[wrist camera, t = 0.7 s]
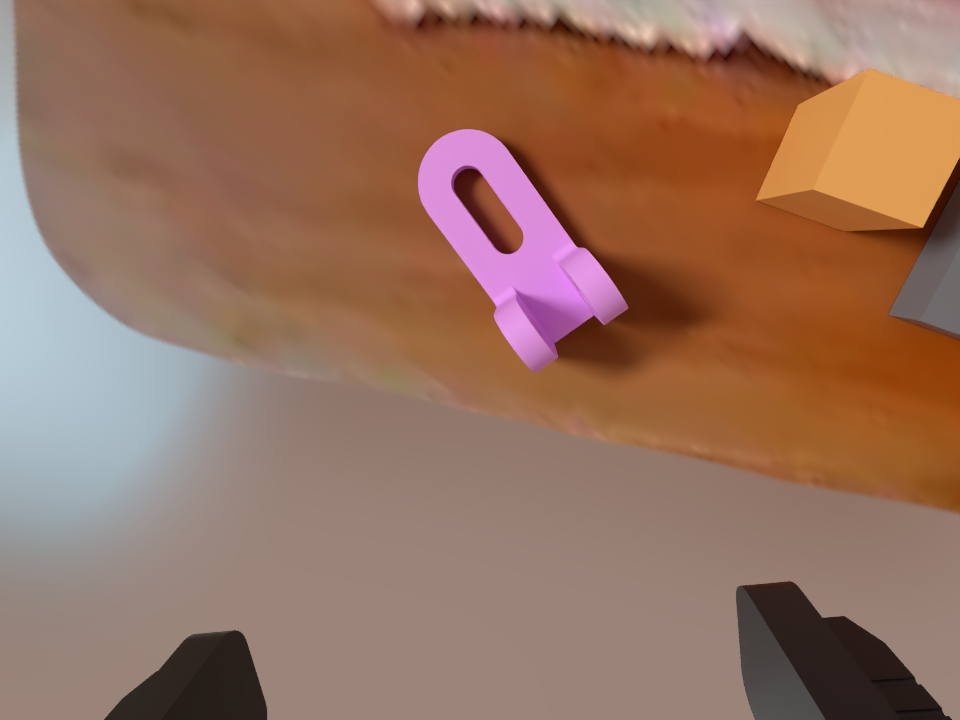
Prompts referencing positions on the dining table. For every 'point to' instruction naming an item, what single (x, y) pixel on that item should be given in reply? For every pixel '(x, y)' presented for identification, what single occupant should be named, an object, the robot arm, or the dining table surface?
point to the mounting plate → (935, 277)
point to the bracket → (535, 266)
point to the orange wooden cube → (866, 155)
